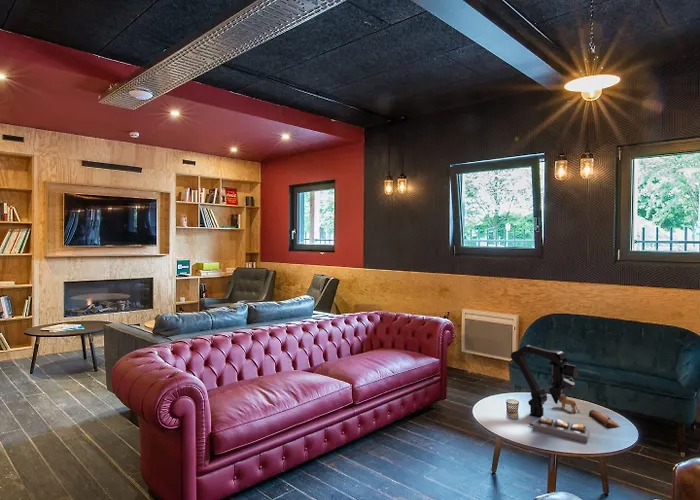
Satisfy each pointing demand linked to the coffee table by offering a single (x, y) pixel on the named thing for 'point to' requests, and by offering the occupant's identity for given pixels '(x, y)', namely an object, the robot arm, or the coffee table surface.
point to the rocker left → (545, 419)
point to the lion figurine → (568, 402)
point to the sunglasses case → (603, 419)
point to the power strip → (561, 430)
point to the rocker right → (578, 426)
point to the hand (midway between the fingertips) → (557, 401)
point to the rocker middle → (561, 423)
